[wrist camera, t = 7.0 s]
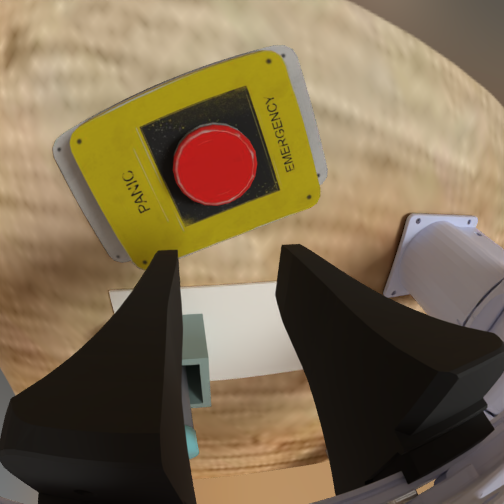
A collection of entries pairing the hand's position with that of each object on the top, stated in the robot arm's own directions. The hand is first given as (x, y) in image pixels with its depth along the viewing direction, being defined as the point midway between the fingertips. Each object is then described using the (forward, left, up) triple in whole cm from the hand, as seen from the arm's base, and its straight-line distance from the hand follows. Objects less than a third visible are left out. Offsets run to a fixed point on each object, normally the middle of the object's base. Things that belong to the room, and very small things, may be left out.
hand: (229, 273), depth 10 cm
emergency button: (+1, -2, -10) cm, 10 cm away
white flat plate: (-2, +13, -9) cm, 16 cm away
